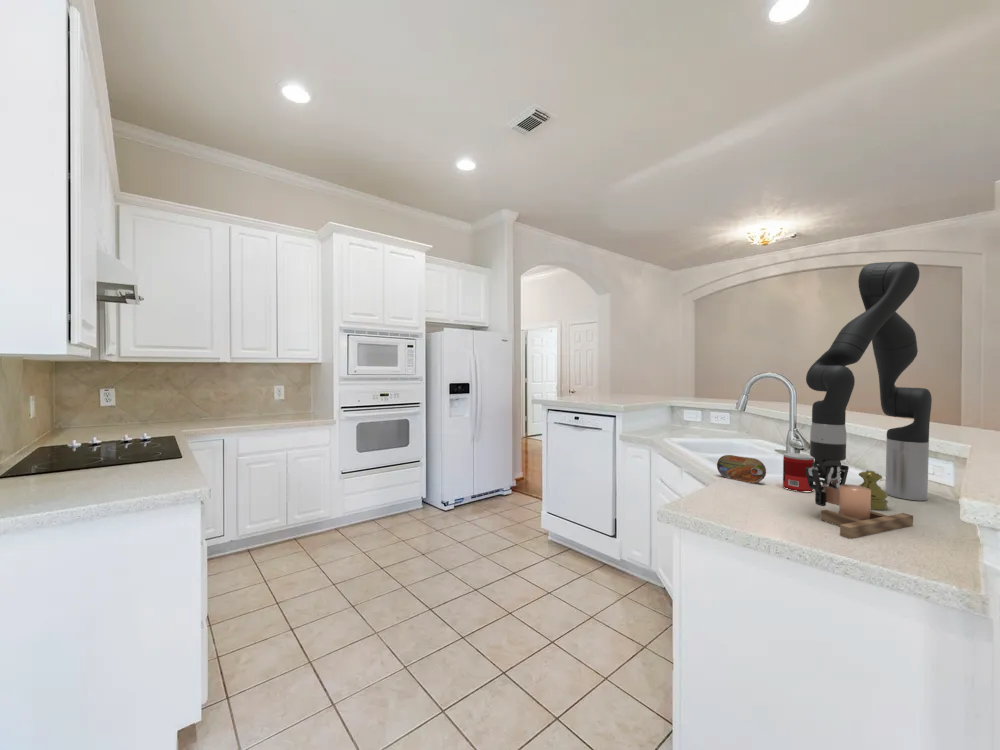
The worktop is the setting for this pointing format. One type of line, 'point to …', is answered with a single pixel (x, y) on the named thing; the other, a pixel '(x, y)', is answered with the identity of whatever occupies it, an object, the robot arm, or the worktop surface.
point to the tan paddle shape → (851, 500)
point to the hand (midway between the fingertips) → (826, 504)
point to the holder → (867, 523)
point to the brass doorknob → (874, 490)
